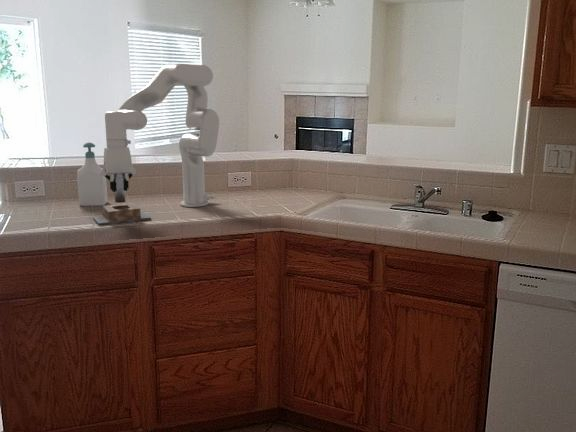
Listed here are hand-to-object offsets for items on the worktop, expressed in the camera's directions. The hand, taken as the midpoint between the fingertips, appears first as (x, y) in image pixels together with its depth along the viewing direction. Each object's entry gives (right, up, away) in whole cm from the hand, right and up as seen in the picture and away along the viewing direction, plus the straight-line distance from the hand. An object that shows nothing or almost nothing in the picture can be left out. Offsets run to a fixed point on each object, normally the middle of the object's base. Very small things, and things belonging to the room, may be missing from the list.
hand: (119, 190), depth 214 cm
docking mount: (0, -11, +3) cm, 12 cm away
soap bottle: (-21, -5, +32) cm, 39 cm away
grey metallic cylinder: (0, -4, +1) cm, 4 cm away
